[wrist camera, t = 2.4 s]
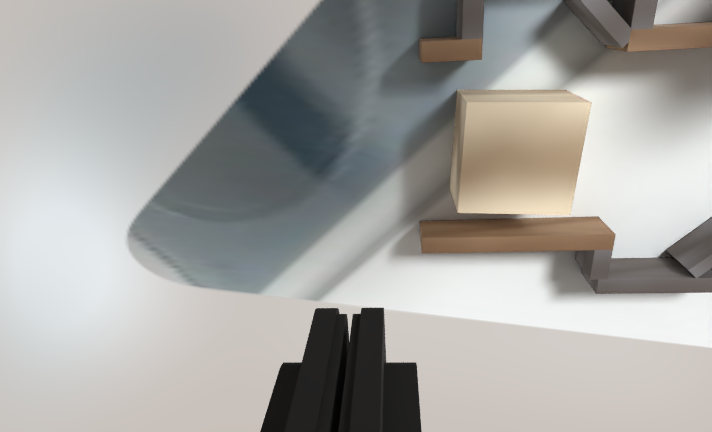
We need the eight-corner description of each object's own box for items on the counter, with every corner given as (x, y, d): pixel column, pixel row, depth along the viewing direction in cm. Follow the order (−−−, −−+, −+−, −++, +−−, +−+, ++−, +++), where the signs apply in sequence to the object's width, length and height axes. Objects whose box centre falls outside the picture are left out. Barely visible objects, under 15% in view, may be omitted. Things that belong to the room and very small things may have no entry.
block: (456, 89, 27) (467, 102, 23) (564, 89, 27) (591, 102, 23) (449, 187, 30) (457, 213, 26) (547, 189, 29) (570, 215, 25)
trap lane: (418, -50, 24) (421, -57, 21) (1055, -98, 22) (1152, -112, 19) (420, 274, 32) (422, 299, 29) (889, 268, 29) (940, 294, 27)
